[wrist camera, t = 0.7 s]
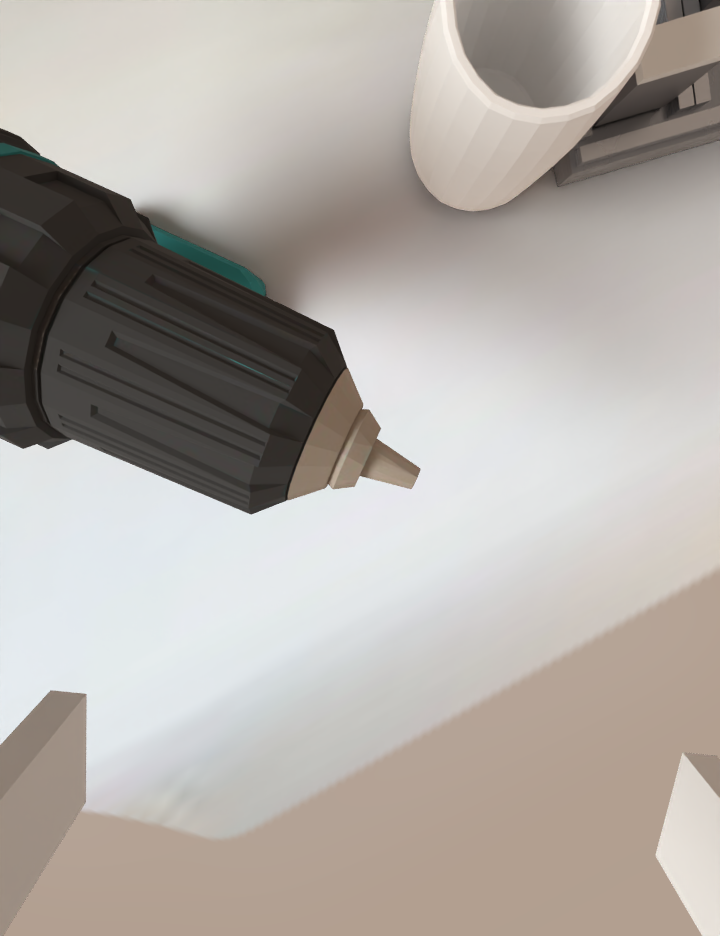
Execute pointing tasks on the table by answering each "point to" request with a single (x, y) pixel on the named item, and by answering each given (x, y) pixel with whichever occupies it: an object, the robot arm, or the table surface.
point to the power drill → (166, 352)
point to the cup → (516, 89)
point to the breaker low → (669, 64)
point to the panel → (650, 123)
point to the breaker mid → (709, 4)
